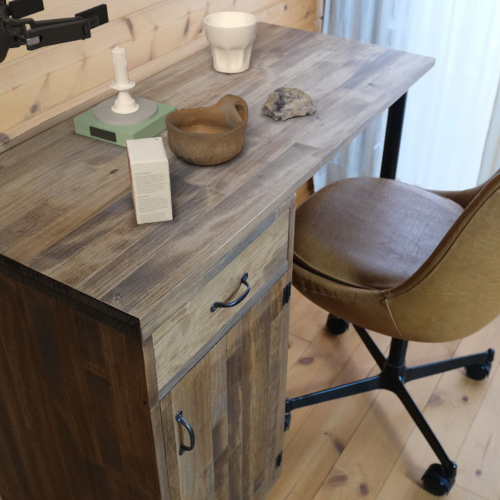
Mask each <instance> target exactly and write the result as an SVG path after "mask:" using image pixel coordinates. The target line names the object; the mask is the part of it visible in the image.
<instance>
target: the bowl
mask: <svg viewBox="0 0 500 500" xmlns="http://www.w3.org/2000/svg"><path fill="white" fill-rule="evenodd" d="M248 122H249V106H248V103H247V102H246V100H245V99H244V98H243V97H241V96H239V95H236V94H230V93H229V94H225V95H223V96H222V97H220V98H219V100H218V101H217V102H216V103H215V104H213V105H210V106H206V107H205V106H199V107H188V108H181V109H177V111H175V112H172V113H170V114H168V115H167V116H166V119H165V123H166V127H167V129H166V130H167V131H166V132H167V144H168V147H169V150H170V151H171V152H173V154H175V155H176V156H177V158H180V159H181V160H183V161H185V162H188V163H191V164H193V165H198V166H212V165H213V166H214V165H219V164H222V163H225V162H227V161H230V160H232V159H233V158H235V157H236V156H237V155H239V153H240V152H241V151H242V150H243V149H244V145H245V141H246V139H245V137H246V135H245V132H244V131H245V129H246V127H247V124H248Z"/></svg>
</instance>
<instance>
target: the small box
mask: <svg viewBox="0 0 500 500" xmlns="http://www.w3.org/2000/svg"><path fill="white" fill-rule="evenodd" d="M125 148H126V157H127V165H128V173H129V179H130V180H129V182H130V190H131V197H132V202H133V207H134V213H135V214H134V215H135V219H136V224H137V225H144V224H151V223H161V222H168V221H173V219H174V218H173V204H172V191H171V189H172V188H171V177H170V163H169V159H168V157H167V153H166V150H165V145H164V140H163V137H162V136H154V137H153V138H144V139H133V140H126V147H125Z"/></svg>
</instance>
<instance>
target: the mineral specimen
mask: <svg viewBox="0 0 500 500" xmlns="http://www.w3.org/2000/svg"><path fill="white" fill-rule="evenodd" d="M316 110H317V106H316V104H315V102H314V100H313V99H312V96H310V94H308V93H306V92H304V91H303V90H301V89H298V88H297V87H293V88H289V87H284V86H283V87H278V88H276V89H274V90H273V91H272V92H271V93H269V94H268V97H267V99H266V101H264V102H263V104H262V105H261V114H264V115H266V116H269V117H272V119H273V120H274V121H276V122H277V121H279V120H280V121H281V122H283V121H286V120H288V119H292V118H293V117H298V116H299V117H303V116H306V115H307V114H308V115H312V114H313V113H315V112H316Z"/></svg>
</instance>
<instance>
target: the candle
mask: <svg viewBox="0 0 500 500" xmlns="http://www.w3.org/2000/svg"><path fill="white" fill-rule="evenodd" d="M111 58H112V61H111V62H112V66H113V73H114V81H112V82H111V83H110V84H109V87H110V88H111V89H112V90H115V91H117V92H118V94H117V95H118V96H117V99H116V100H115V102H114V105H113V106H112V108H111V110H112V111H113V112H115V113H118V114H130V113H133V112H136V111H137V110H139V108H140V106H139V105H138V104H137V103H136V102H135V100H134V99H133V98H132V97H131V96H132V95H131V93H130V92H129V91H130V90H131V89H133V88H135V86H136V82H135V81H134V80H130V76H129V75H130V74H129V67H128V60H127V59H128V58H127V52H126V48H125V47H119V45H116V46H115V47H114V48H112V49H111Z"/></svg>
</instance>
